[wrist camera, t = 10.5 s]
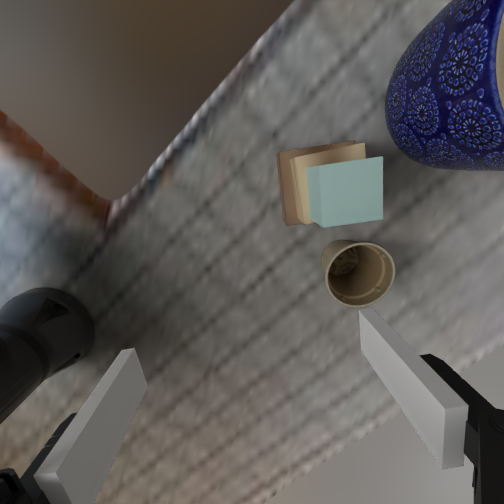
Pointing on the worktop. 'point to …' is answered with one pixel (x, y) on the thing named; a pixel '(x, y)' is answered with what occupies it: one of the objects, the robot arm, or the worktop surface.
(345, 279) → the flower pot
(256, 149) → the worktop surface
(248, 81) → the worktop surface
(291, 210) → the tower base
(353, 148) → the tower top
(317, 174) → the teal cube
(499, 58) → the planter
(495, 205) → the worktop surface
